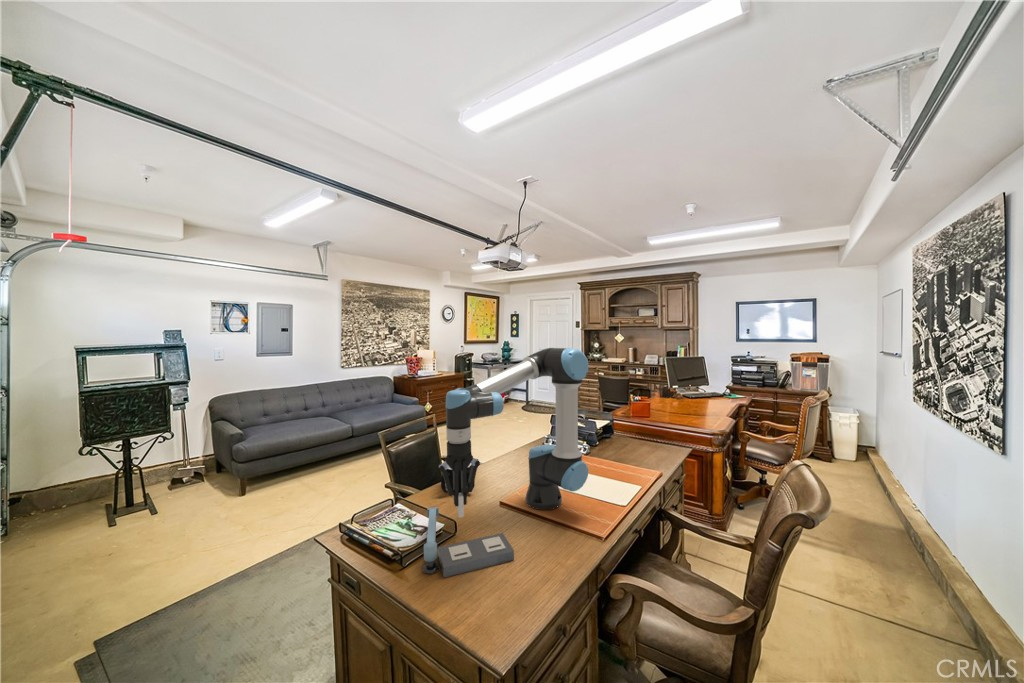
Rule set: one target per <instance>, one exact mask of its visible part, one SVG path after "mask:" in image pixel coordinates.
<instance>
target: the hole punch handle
mask: <svg viewBox="0 0 1024 683" xmlns="http://www.w3.org/2000/svg"><path fill="white" fill-rule="evenodd" d="M426 513H427V514H426V515H427V518H428V522H427V523H428V525H427V533H426V534H427V535H426V543H424V544H423V560H424V561H425V562H426V561H427V562H431V561H434V560H436V561H437V559H438V543H437V542H436V536H437V535H436V532H437V518H438V517H439V513H440V512H439V506H434V507H428V508H427V509H426Z"/></svg>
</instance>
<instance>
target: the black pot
mask: <svg viewBox="0 0 1024 683" xmlns="http://www.w3.org/2000/svg"><path fill="white" fill-rule="evenodd" d="M471 466H472V464H471V463H470V465H469V466H468V468H467V473H466V476H467V485H468V480H469V475H470V471H471ZM446 471H447V474H448V478H449V481H450V485H451V488H452V490H453V470H452V469H451V468H450V467H449V465H447V470H446ZM440 486H441V487H440V488H441V489H442V492H444V493H448V491H447V487H446V484H445V480H444V477H443V473H442V474H441V475H440ZM458 486H459V493H462V491H461V470H460V471H459V474H458ZM474 488H475V481H474V485H473V489H474Z"/></svg>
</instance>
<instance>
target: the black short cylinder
mask: <svg viewBox="0 0 1024 683" xmlns="http://www.w3.org/2000/svg"><path fill="white" fill-rule="evenodd" d="M436 561H437V559H436V560H434V561H431V562H427V561H425V564H423V566H422V572H423V574H424V575H429V576H430V575H434V574H436V573H437V572H439V570H440V563H439V562H436Z"/></svg>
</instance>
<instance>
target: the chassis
mask: <svg viewBox="0 0 1024 683" xmlns="http://www.w3.org/2000/svg"><path fill="white" fill-rule="evenodd" d="M437 558H438V560H439V566H440V568H441V572H442V576H443V578H444V579H446V578H448V577H449V578H450V577H454V576H456V575H460V574H464V573H468V572H472V571H477V570H481V569H485V568H488V567H492V566H497V565H500V564H504V563H508V562H509V563H510V562H512V561H515V551H514V548H513V547H512V545H511V544H510V542H509V540H508V539H507V537H506V536H505V534H504V532H501V533H496V534H492V535H488V536H487V535H486V536H483V537H478V538H474V539H469V540H464V541H460V542H456V543H451V544H446V545H443V546H437Z"/></svg>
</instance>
